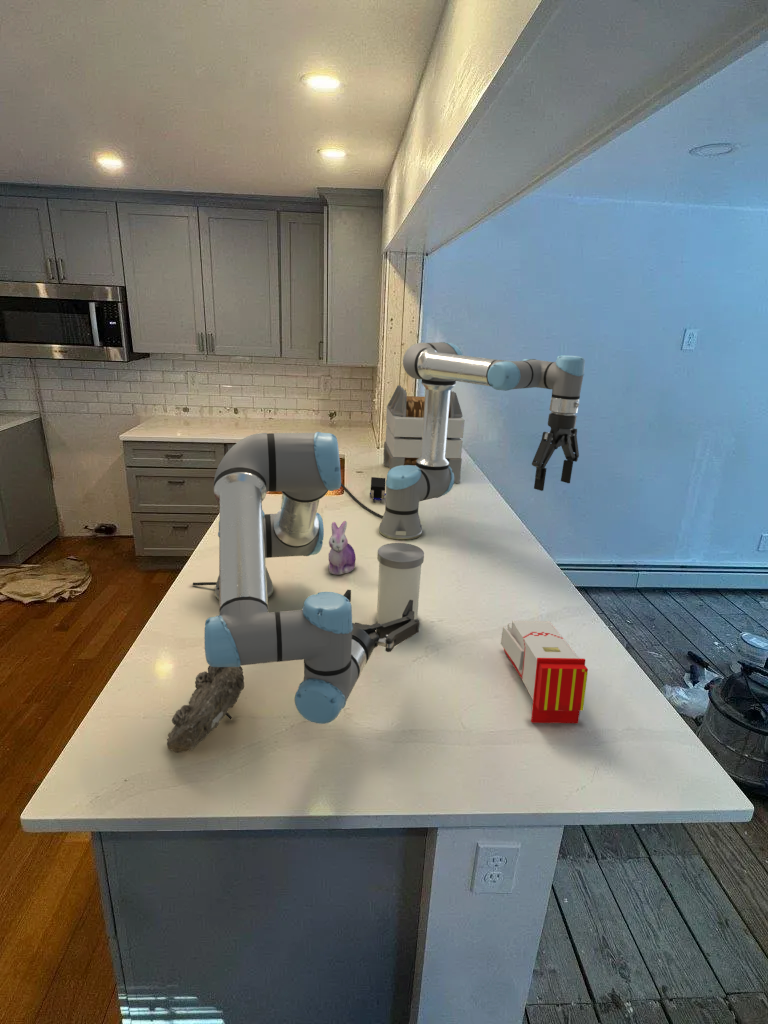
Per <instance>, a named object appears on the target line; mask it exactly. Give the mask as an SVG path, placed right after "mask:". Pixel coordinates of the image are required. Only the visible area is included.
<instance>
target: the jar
mask: <svg viewBox="0 0 768 1024" xmlns="http://www.w3.org/2000/svg"><path fill="white" fill-rule="evenodd" d="M421 571H422V564H421V565H420V566H418V567H415V568H411V569H396V568H390V567H387V566H385V565H383V564H381V563H380V562H379V561H378V580H377V581H378V582H377V601H376V602H377V603H376V604H377V605H376V622H377V623H380V624H384V623H387V622H390V621H393V620H396V619H400V618H402V614H403V612H404V610H405V608H406V606H407V604H408V602H409V600H413V610H412V611H414V619H417V620H418V617H419V616H418V614H419V601H420V589H421V575H422V574H421V573H422V572H421Z"/></svg>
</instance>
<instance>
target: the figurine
mask: <svg viewBox="0 0 768 1024" xmlns="http://www.w3.org/2000/svg"><path fill="white" fill-rule="evenodd" d="M347 525H348V522H347V520H344V521H343V522H341V524H340V526H339V527H338V525H337V523H336V522H335V521H332V522H331V536H330V537H329V540H328V545H329V548H330V550H329V552H328V566H327V568H328V573H329V574H331V575H332V574H333V575H338V576H339V575H343V574H348V573H351V572H352V571H353V570H354V569H355V566H356V560H357V559H356V552H355V549H354V548H353V546H352V545H351V544H350V543H349V541H348V538H347V535H346V534H345V533H346V529H347Z"/></svg>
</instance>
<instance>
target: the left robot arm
mask: <svg viewBox="0 0 768 1024" xmlns="http://www.w3.org/2000/svg"><path fill="white" fill-rule="evenodd" d="M341 483H342V473H341V459H340V450H339V442H338V437H337V436H336V435H335V434H333V433H330V432H321V431H316V432H259V433H252V434H250V435H247V436H245V437H244V438H241V439H239V441H237V442H236V443H235V444H234V445H232V446H231V447H230V449H229V450H228V451H226V453H225V454H224V456H223V457H222V458H221V460H220V462H219V464H218V466H217V468H216V470H215V473H214V480H213V495H214V498H215V499H216V500H217V502H218V503H219V521H218V532H217V536H218V538H219V543H218V544H219V545H218V546H219V547H218V549H219V554H218V555H219V560H218V561H219V562H218V565H219V567H218V569H219V571H218V577H217V580H216V581H205V582H204V581H203V582H201V581H199V582H192V586H215V589H214V593H215V598H216V599H217V600H218V615H215V616H211V617H208V618H207V619H206V620H205V622H204V637H203V638H204V639H203V640H204V655H205V660H206V663H207V664H208V666H209V665H210V666H212V667H240V666H241V667H243V666H251V665H259V664H267V663H275V662H276V663H280V662H293V661H303V680H302V681H301V682H300V683H299V685H298V687H297V690H296V692H295V696H294V705H295V708H296V710H297V711H298V714H300V715H301V717H303V718H304V719H305V720H307V722H310V723H314V724H319V725H325V724H329V723H331V722H333V721H334V720H336V718H337V717H338V716H339V714H340V713H341V711H342V710H343V709H344V708H345V706H346V705H347V701H348V699H349V698H350V696H351V693H352V691H353V689H354V687H355V686H356V684H357V682H358V680H359V678H360V676H361V674H362V672H363V670H364V668H365V666H366V665H367V663H368V661H369V659H371V658H370V657H371V656H372V653H373V651H374V649H376V648H378V646H379V647H383V648H384V651H385V652H386V653H391V652H392V651H393V650H394V648H395V647H397V646H398V645H400V644H401V643H404V642H405V641H406V640H408V639H410V638H412V637H413V636H415V635H417V634H418V633H419V628H420V620H419V619H418V618H417V619H414V611H412V610H413V600H409V602H408V604H407V606H406V608H405V610H404V612H403V614H402V618H400V619H396V620H393V621H390V622H387V623H384V624H380V623H378V622H377V623H374V624H367V623H366V624H363V623H360V622H353V614H352V613H353V610H352V604H351V601H352V589H347V590H345V592H344V594H341V593H338V592H334V591H320V592H317V594H315V593H314V594H313V593H312V594H311V595H309V596H307V598H305V600H304V602H303V606H302V609H297V610H296V609H295V610H283V611H273V612H272V611H271V612H269V598H270V597H271V596H273V593H274V586H273V581H272V579H271V576H270V574H269V573H270V572H269V570H268V568H267V566H266V564H267V563H266V559H270V558H285V557H286V558H287V557H309V556H315V555H318V554H319V553H320V552H321V551H322V548H323V545H324V542H323V541H324V538H325V537H324V536H325V531H324V530H325V529H324V521H323V517H322V516H321V514H320V513H319V512H318V508H319V504H320V500H321V499H323V498H324V497H325V496H326V495H327V494H328V492H333V491H336V490H337V491H338V490H339V489H341V487H342V486H341ZM274 492H275V493H277V492H281V503H280V504H281V505H280V509H279V510H278V511H277V513H265V512H264V509H263V501H264V500H265V498H266V496H267V493H274Z"/></svg>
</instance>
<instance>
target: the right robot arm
mask: <svg viewBox="0 0 768 1024" xmlns="http://www.w3.org/2000/svg"><path fill="white" fill-rule="evenodd" d="M585 365H586V360H585V358H584V357H582V356H578V355H566V354H565V355H564V354H563V355H558V356H557V357H556V360H555V361H549V360H541V359H536V358H524V359H521V360H506V359H505V360H504V359H503V360H502V359H496V358H487V357H479V356H471V355H464V354H463V352H462V350H461V349H460V347H459V346H457V345H456V344H455V343H451V342H445V341H443V342H442V341H441V342H440V341H439V342H438V341H437V342H417V343H414V344H412V345H411V346H409V347H408V348H407V350H406V351H405V353H404V355H403V358H402V366H403V369H404V372H405V373H406V374H407V375H408V376H409V377H411V378H412V379H415V380H421V385H422V386H423V387H424V389H425V392H424V397H425V404H424V419H423V434H422V449H421V457H420V458H418V459H417V461H416V466H413V465H401V466H396V467H394V468H392V469H390V468H389V470H388V472H387V474H386V479H385V494H386V495H385V504H384V505H385V507H384V508H385V509H384V513H383V515H382V514H380V513H378V512H376V511H374V510H373V509H371V508H370V507H368V506H366V505H365V504H364V503H362V502H361V501H360V500H358V499H357V497H355V496H354V494H353V493H351V491H350V490H349V489H348V488H347V487H346V486H345V485H344V484H343V483H342V482H341V487H342V488H343V490H345V492H347V494H348V495H349V496H350V497H351V498H352V499H353V500H354V501H355V502H356V503H357V504H358V505H360V506H361V507H362V508H364V509H365V510H367V511H368V512H370V514H372V515H375V516H376V517H378V518H381V522H379V527H378V533H379V534H380V535H381V536H382V537H385V538H387V539H389V540H395V541H410V540H415V539H418V538H420V537H421V536H422V535H423V525H422V524H421V518H420V515H419V507H420V506H419V505H420V502H423V501H427V500H431V499H437V498H440V497H443V496H446V495H448V493H450V492H451V490H452V489H453V488H454V487H453V486H454V484H455V483H454V473H452V469H451V467H450V466H449V462H448V461H447V459H446V458H445V453H446V441H447V428H448V416H449V404H450V392H451V391H452V389H453V388H454V387H455V386H456V384H457V382H461V383H465V384H473V385H479V386H487V387H491V388H492V389H494V390H496V391H503V392H504V391H511V390H520V389H532V388H533V389H534V388H539V389H546V390H551V398H550V404H549V413H548V418H547V419H548V420H547V426H548V427H549V428H550V431H549V432H548V431H543V432H542V435H541V440H540V442H539V445H538V447H537V449H536V452H535V454H534V457H533V460H532V461H531V466H533V467H535V475H534V477H535V478H534V485H533V489H534V490H537V491H539V492H543V491H544V489H545V484H546V483H545V482H546V476H547V468H546V466H547V465H548V463H549V461H550V459H551V457H552V456H553V454H554V453H555V451H556V450H557V449H558V448H560V447H561V449H562V452H563V455H564V458H565V459H563V463H562V468H561V469H562V470H561V475H560V482H562V483H566V484H571V478H572V472H573V466H574V463H576V462H578V461H579V457H580V453H579V444H578V428H576V423H577V419H578V416H577V414H578V412H579V411H578V410H579V406H580V397H581V391H582V385H583V380H584V376H585Z"/></svg>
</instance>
